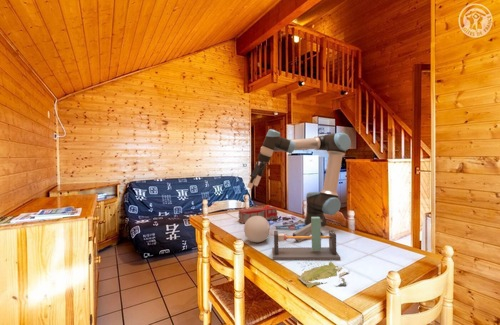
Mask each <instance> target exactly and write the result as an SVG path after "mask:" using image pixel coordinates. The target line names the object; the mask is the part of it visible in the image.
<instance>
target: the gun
mask: <svg viewBox="0 0 500 325" xmlns="http://www.w3.org/2000/svg"><path fill="white" fill-rule="evenodd" d="M320 222H321V230H322V229H323V228H324V227H325V226H324V225H325V222H324V220H323V219H320ZM292 236H312V233H311V223H310V224H308V225H305V226H303V227H301V228H299V229H297V230H296V231H294V232H292ZM321 236H324V233H323V232H322V231H321ZM294 240H295V242H296V243H300V242H302V241H303V240H304V239H294Z"/></svg>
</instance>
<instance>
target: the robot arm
mask: <svg viewBox="0 0 500 325" xmlns="http://www.w3.org/2000/svg"><path fill="white" fill-rule="evenodd" d="M351 146H352V141H351V138H350V136H349V134H347V133H345V132H335V133H328V134H323V135H319V136H314V137H313V138H312V137H311V138H292V139H288V138H286V137H282V136H281V132H280V131H277V130H275V129H271V128H270V129H268V131H267V132H266V135H265V138H264V140H263V143H262V145H261V147H260V149H259V150H260V151H259V153H258V155H257V159H258V161H256V164H255V167H254V169H253V170H252V172H251V173H250V175H249V177H250V178H249V181H248V184H247V186H246V187H247V188H249V189H251V190H252V189H253V187H254V186H255V187H258V185H259V184H260V181H261V178H262V177H263V176H264V171H265V169H266V165H267V164H268V163H270V161H271V157H272V156H273V153H276V152H285V153H288V154H292V153H293V152H294V151H303V150H315V151H326V153H327V154H328V158H327V163H326V171H325V174H324V176H325V177H324V183H323V187H322V188H323V189H322V190H321V191H312V192H311V191H309V192H307V193H306V197H305V198H306V215H305V218H304V225H305V226H306V225H308V224H310V223H311V217H320V219H323V220H324V222H325V225H324V227H326V226H327V225H328V224H327V219H326V216H325V215H329V216H334V215H336V214H337V213H338V212H339V211H340V209H341V207H342V206H341V204H342V203H341V201H340V199H339V194H338V192H337V191H338V187H339V186H338V185H339V180H340V173H341V167H342V161H343V157H344V156H345V155H346V151H348V150H349V149H350V147H351Z"/></svg>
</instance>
